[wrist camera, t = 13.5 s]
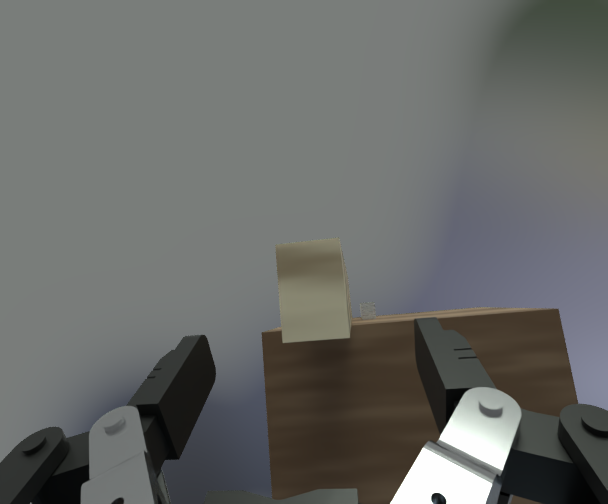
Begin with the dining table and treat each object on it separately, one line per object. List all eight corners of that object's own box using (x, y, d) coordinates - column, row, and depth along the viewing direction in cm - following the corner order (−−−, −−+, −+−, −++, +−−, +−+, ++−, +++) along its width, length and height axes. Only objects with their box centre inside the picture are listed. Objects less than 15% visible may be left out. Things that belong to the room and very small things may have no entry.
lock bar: (349, 337, 15) (339, 237, 15) (282, 343, 15) (275, 244, 16) (352, 318, 37) (347, 277, 38) (325, 320, 38) (321, 280, 38)
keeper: (376, 318, 30) (374, 302, 31) (295, 325, 31) (294, 309, 32) (372, 316, 36) (370, 302, 36) (304, 322, 37) (303, 308, 37)
